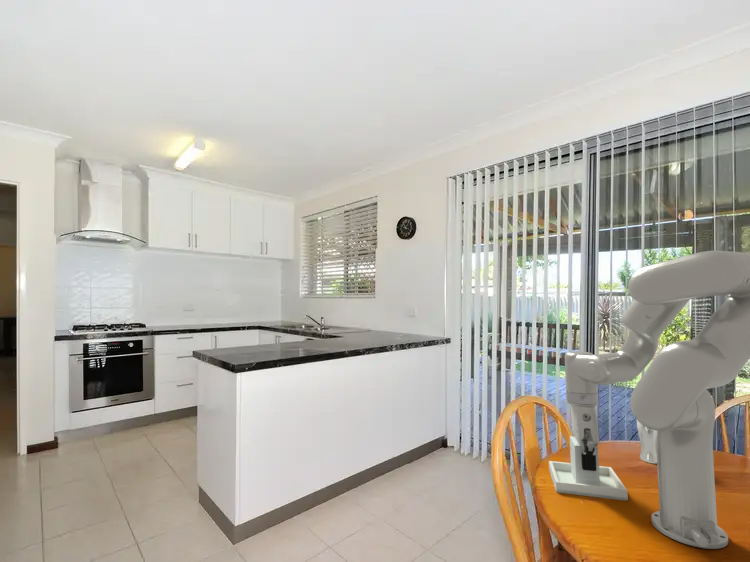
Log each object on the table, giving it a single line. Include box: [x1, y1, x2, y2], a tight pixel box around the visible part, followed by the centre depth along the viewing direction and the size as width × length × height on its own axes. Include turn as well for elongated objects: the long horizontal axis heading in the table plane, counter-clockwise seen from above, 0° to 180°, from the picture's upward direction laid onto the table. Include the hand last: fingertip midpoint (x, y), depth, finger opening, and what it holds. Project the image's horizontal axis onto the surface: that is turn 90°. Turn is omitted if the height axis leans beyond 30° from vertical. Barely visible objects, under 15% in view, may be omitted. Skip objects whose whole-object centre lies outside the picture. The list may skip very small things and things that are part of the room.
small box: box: [569, 435, 600, 486], centre depth 104 cm, size 8×6×10 cm
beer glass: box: [636, 420, 657, 465], centre depth 119 cm, size 7×7×15 cm
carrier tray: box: [548, 460, 629, 502], centre depth 104 cm, size 14×16×2 cm
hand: (585, 462), depth 104 cm, fingers open, 9 cm apart
